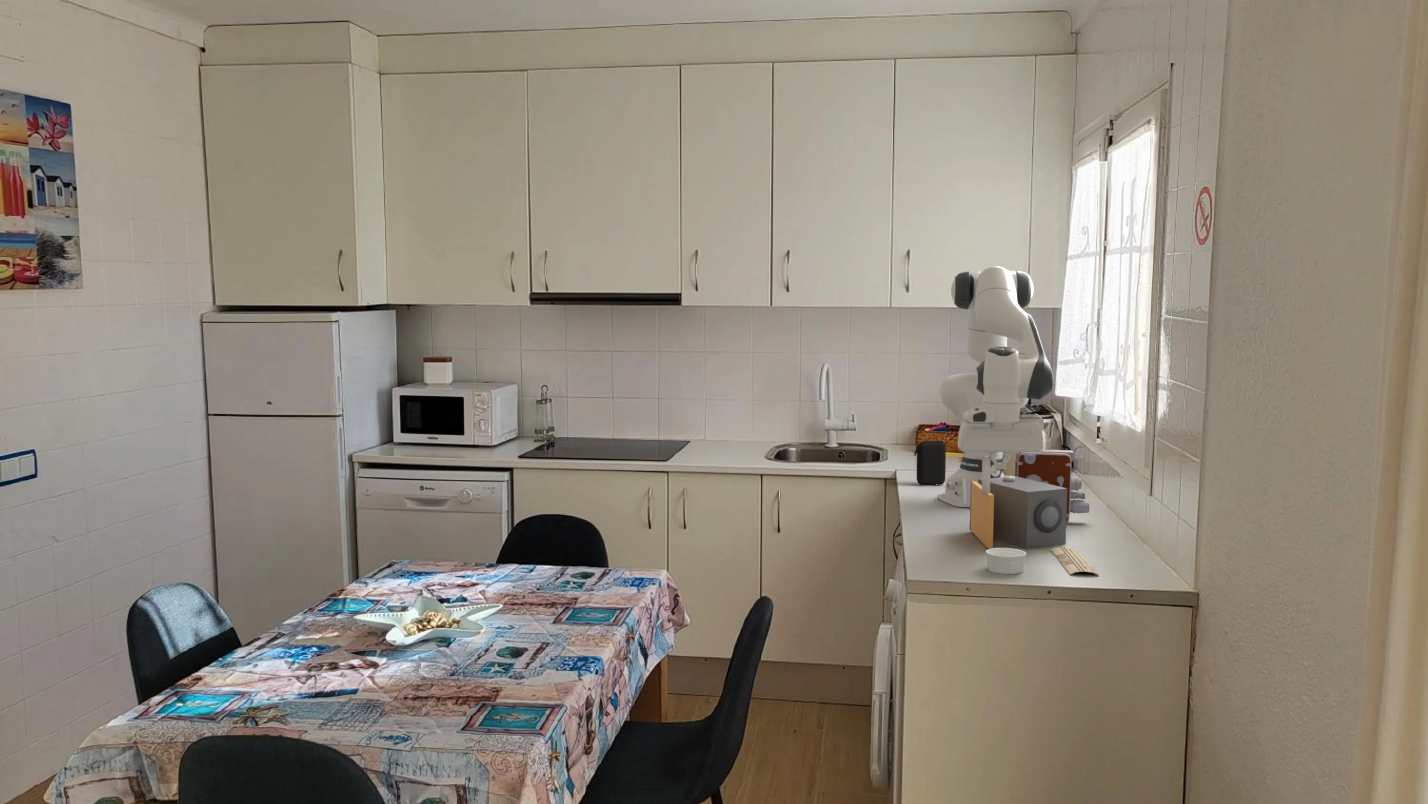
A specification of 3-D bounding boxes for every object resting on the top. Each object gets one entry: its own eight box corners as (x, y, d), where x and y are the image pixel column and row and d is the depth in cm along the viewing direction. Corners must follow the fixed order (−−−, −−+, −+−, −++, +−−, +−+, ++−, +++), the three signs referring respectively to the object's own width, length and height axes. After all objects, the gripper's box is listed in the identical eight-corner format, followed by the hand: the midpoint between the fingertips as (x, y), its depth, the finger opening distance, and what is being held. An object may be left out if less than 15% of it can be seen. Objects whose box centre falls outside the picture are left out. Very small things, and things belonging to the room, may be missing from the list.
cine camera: (1090, 527, 286) (1093, 453, 285) (1015, 524, 290) (1017, 451, 288) (1086, 520, 295) (1088, 448, 293) (1013, 517, 299) (1014, 446, 297)
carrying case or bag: (915, 486, 348) (916, 441, 347) (912, 485, 351) (912, 440, 350) (946, 485, 350) (947, 441, 348) (943, 484, 353) (944, 439, 351)
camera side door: (965, 529, 282) (967, 446, 279) (974, 529, 282) (976, 446, 279) (983, 547, 261) (985, 458, 259) (992, 547, 261) (994, 458, 259)
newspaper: (1098, 579, 236) (1098, 571, 236) (1065, 578, 237) (1065, 570, 237) (1076, 554, 260) (1076, 546, 260) (1046, 553, 261) (1046, 546, 260)
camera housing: (976, 531, 281) (978, 475, 280) (1014, 527, 286) (1015, 472, 284) (1029, 549, 262) (1031, 488, 260) (1068, 544, 266) (1070, 485, 265)
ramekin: (982, 573, 240) (983, 554, 239) (987, 564, 248) (988, 545, 247) (1024, 577, 236) (1024, 557, 236) (1027, 567, 245) (1027, 548, 244)
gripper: (1040, 412, 263) (1039, 468, 265) (956, 412, 264) (955, 468, 265) (1047, 415, 257) (1046, 472, 258) (962, 415, 258) (960, 472, 259)
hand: (999, 470), depth 262 cm, fingers closed
